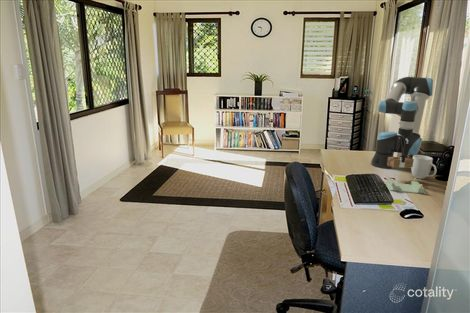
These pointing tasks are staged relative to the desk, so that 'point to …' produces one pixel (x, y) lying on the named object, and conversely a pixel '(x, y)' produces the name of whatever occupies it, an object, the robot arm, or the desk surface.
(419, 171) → the mug
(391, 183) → the carcass
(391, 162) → the door
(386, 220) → the desk surface
